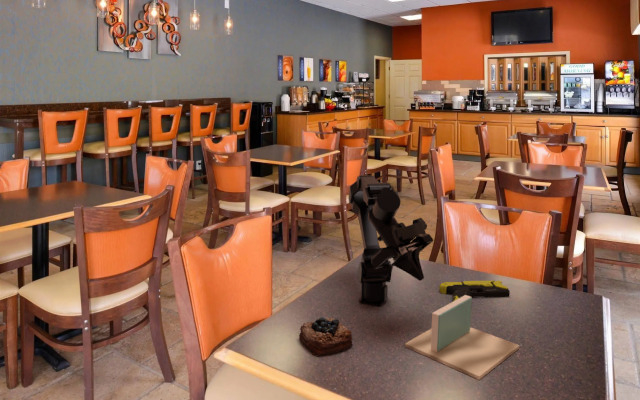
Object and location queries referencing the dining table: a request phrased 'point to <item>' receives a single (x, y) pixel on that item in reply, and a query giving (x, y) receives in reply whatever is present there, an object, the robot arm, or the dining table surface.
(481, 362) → the board
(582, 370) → the dining table surface
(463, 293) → the stun gun
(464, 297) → the tile
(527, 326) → the dining table surface
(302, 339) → the pastry
